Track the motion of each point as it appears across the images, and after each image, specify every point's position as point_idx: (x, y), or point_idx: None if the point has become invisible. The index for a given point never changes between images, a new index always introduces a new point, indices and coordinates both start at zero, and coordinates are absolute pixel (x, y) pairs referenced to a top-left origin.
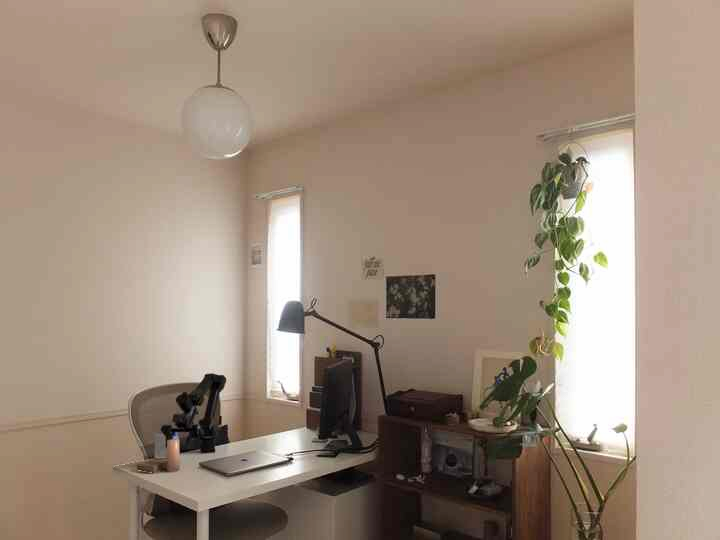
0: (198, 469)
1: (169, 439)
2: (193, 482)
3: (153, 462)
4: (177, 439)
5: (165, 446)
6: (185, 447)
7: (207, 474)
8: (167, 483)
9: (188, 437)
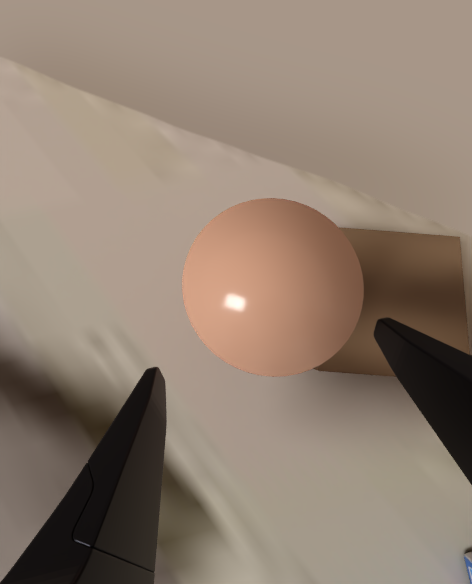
0: (115, 370)
1: (362, 296)
2: (6, 173)
3: (399, 299)
4: (225, 324)
5: (386, 318)
6: (161, 377)
7: (6, 298)
8: (123, 135)
9: (100, 488)
